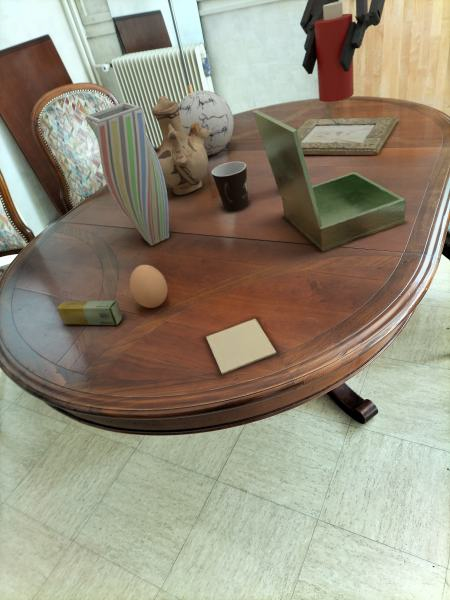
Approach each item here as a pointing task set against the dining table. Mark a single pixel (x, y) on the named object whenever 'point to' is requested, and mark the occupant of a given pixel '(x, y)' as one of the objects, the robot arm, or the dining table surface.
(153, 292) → the egg
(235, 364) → the mat
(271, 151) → the lid
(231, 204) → the coffee mug
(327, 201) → the green square tray
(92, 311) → the medication box
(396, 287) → the dining table surface
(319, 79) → the ketchup
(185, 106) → the decorative sphere
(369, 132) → the picture frame
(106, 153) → the vase
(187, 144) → the ceramic vessel
